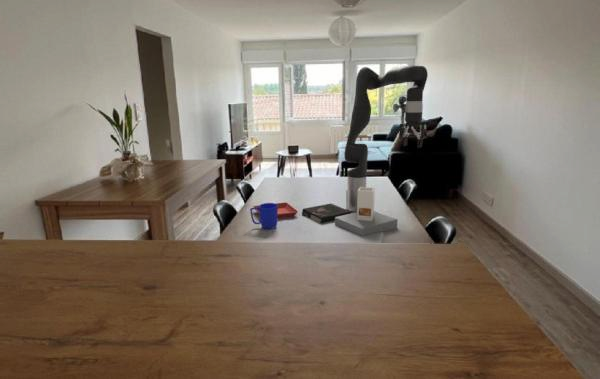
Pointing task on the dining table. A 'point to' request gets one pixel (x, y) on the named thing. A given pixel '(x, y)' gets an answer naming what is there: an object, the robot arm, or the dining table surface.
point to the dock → (366, 223)
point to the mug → (267, 215)
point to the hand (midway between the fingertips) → (412, 146)
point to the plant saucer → (283, 210)
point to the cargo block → (365, 211)
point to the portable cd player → (324, 213)
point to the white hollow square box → (365, 202)
